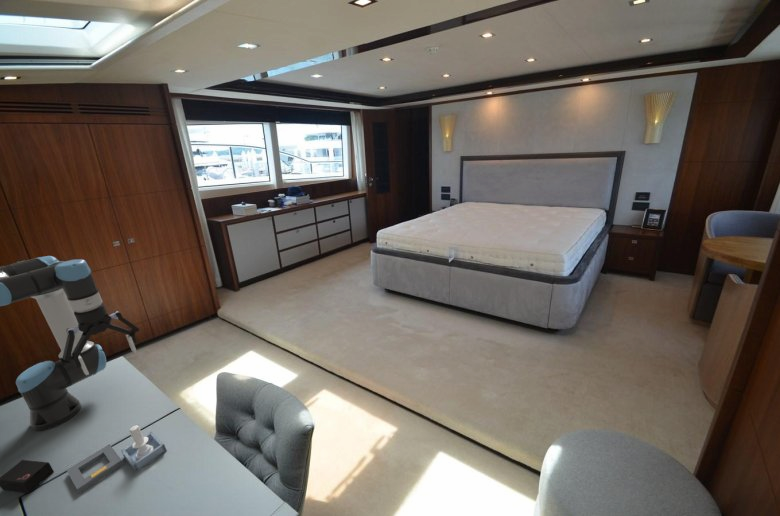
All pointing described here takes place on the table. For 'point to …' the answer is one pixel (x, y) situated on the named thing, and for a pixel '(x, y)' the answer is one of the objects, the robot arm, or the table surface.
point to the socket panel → (99, 474)
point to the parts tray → (139, 463)
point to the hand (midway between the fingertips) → (111, 362)
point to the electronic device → (25, 476)
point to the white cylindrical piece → (140, 442)
